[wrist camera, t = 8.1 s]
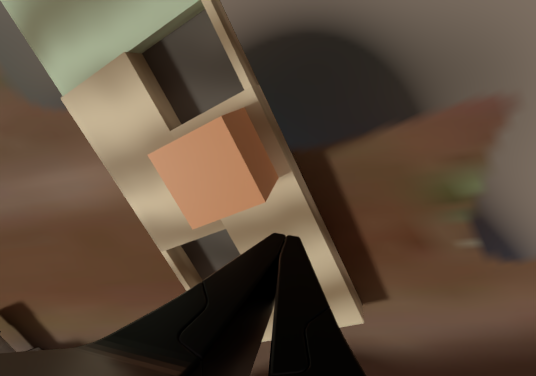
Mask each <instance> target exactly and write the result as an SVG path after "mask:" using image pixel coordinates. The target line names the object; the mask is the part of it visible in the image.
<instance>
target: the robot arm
mask: <svg viewBox="0 0 536 376" xmlns="http://www.w3.org/2000/svg"><path fill="white" fill-rule="evenodd" d="M273 307H274V316H273V327H272V339H271V350H270V362H269V373H268V376H366V374H365V372H364V371H363V369H362V367H361V366H360V364H359V362H358V361H357V359H356V357H355V356H354V354H353V352H352V350H351V349H350V347H349V345H348V343H347V342H346V340H345V338H344V336H343V334H342V332H341V330H340V328H339V326H338V324H337V322H336V319H335V317H334V315H333V312H332V310H331V309H330V306H329V304H328V301H327V299H326V297H325V294H324V292H323V290H322V287H321V285H320V283H319V280H318V278H317V276H316V274H315V271H314V269H313V267H312V264H311V262H310V260H309V257H308V255H307V253H306V250H305V248H304V246H303V243H302V241H301V239H300V237H298V236H292V235H287V236H286V235H285V234H280V233H272V234H271V235H269V236H268V237H266V238H265V239H263V240H262V241H260V242H259V243H257V244H256V245H254V246H253V247H251V248H250V249H248V250H247V251H245V252H244V253H243V254H241V255H240V256H238V257H237V258H235V259H234V260H232V261H231V262H229V263H228V264H226V265H225V266H223V267H222V268H220V269H219V270H217V271H216V272H214V273H213V274H212V275H210V276H209V277H207V278H206V279H204V280H203V281H202V282H200V283H198V284H197V285H195V286H194V287H192V288H191V289H189V290H188V291H186V292H184V293H183V294H181V295H180V296H178V297H177V298H175V299H173V300H172V301H170V302H168V303H166V304H165V305H163V306H161V307H159V308H158V309H156V310H154V311H152V312H150V313H149V314H147V315H145V316H143V317H141V318H139V319H138V320H136V321H134V322H132V323H130V324H128V325H127V326H125V327H123V328H121V329H119V330H117V331H116V332H114V333H112V334H110V335H108V336H106V337H104V338H102V339H100V340H97V341H95V342H93V343H90V344H86V345H83V346H78V347H74V348H64V349H51V350H37V351H24V352H10V353H0V376H250V373H251V370H252V367H253V364H254V361H255V359H256V356H257V353H258V350H259V347H260V345H261V342H262V339H263V336H264V333H265V330H266V328H267V325H268V322H269V319H270V316H271V313H272V310H273Z"/></svg>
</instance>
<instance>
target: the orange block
mask: <svg viewBox="0 0 536 376" xmlns="http://www.w3.org/2000/svg"><path fill="white" fill-rule="evenodd" d="M148 157H149V159H150V160H151V162H152V164H153V165H154V167H155V168H156V170H157V172H158V173H159V175H160V177H161V178H162V180H163V182H164V183H165V185H166V187H167V188H168V190H169V192H170V193H171V195H172V197H173V198H174V200H175V202H176V203H177V205H178V206H179V208H180V210H181V211H182V213H183V215H184V216H185V218H186V220H187V221H188V223H189V225H190V226H191V228H192V230H193V229H196V228H198V227H201V226H204V225H206V224H209V223H212V222H214V221H217V220H220V219H222V218H225V217H228V216H230V215H233V214H236V213H238V212H241V211H244V210H246V209H249V208H252V207H254V206H257V205H260V204H262V203H265V202H266V200H267V199H268V197H269V195H270V193H271V191H272V189H273V187H274V186H275V184H276V182H277V180H278V178H279V177H278V175H277V173H276V171H275V169H274V167H273V165H272V163H271V161H270V159H269V157H268V155H267V152H266V150H265V148H264V146H263V144H262V142H261V140H260V138H259V136H258V134H257V132H256V130H255V128H254V126H253V124H252V122H251V120H250V118H249V116H248V114H247V112H246V110H245V108H241V109H238V110H236V111H233V112H230V113H228V114H225V115H222V116H220V117H218V118H216V119H214V120H212V121H211V122H209V123H207V124H205V125H203V126H201V127H199V128H197V129H195V130H193V131H192V132H190V133H188V134H186V135H184V136H182V137H180V138H178V139H176V140H174V141H173V142H171V143H169V144H167V145H165V146H163V147H161V148H159V149H157V150H155V151H154V152H152V153H150V154H148Z"/></svg>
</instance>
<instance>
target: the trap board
mask: <svg viewBox="0 0 536 376" xmlns="http://www.w3.org/2000/svg"><path fill="white" fill-rule="evenodd" d="M1 2H2V4H3V5H4V7H5V8H6V10H7V11H8V13H9V14H10V16H11V17H12V19H13V20H14V22H15V23H16V25H17V26H18V28H19V30H20V31H21V33H22V34H23V36H24V37H25V38H26V40H27V42H28V43H29V45H30V46H31V48H32V50H33V51H34V53H35V54H36V56H37V57H38V59H39V60H40V62H41V63H42V65H43V67H44V68H45V70H46V71H47V73H48V74H49V76H50V77H51V79H52V80H53V82H54V83H55V85H56V86H57V88H58V90H59V91H60V92H61V94H62V96H63V97H62V98H61V100H62V102H63V103H64V105H65V106H66V108H67V109H68V111H69V112H70V114H71V115H72V117H73V118H74V120H75V121H76V123H77V124H78V126H79V128H80V129H81V131H82V132H83V134H84V135H85V137H86V138H87V140H88V141H89V143H90V144H91V146H92V147H93V149H94V150H95V152H96V153H97V155H98V157H99V158H100V160H101V161H102V163H103V164H104V166H105V167H106V169H107V170H108V172H109V173H110V175H111V176H112V178H113V179H114V181H115V182H116V184H117V186H118V187H119V189H120V190H121V192H122V193H123V195H124V196H125V198H126V199H127V201H128V202H129V204H130V205H131V207H132V208H133V210H134V211H135V213H136V215H137V216H138V218H139V219H140V221H141V222H142V224H143V225H144V227H145V228H146V230H147V231H148V233H149V234H150V236H151V237H152V239H153V240H154V242H155V244H156V245H157V247H158V248H159V250H160V251H161V253H162V254H163V256H164V257H165V259H166V260H167V262H168V263H169V265H170V266H171V268H172V269H173V271H174V273H175V274H176V276H177V277H178V279H179V280H180V282H181V283H182V285H183V286H184V288H185V289H186V291H188V290H189V289H191V288H192V287H194V286H195V285H197V284H198V283H200V282H202V281H203V280H204V279H206V278H207V277H209V276H210V275H212V274H213V273H214V272H216V271H217V270H219V269H220V268H222V267H223V266H225V265H226V264H228V263H229V262H231V261H232V260H234V259H235V258H237V257H238V256H240V255H241V254H243V253H244V252H245V251H247V250H248V249H250V248H251V247H253V246H254V245H256V244H257V243H259V242H260V241H262V240H263V239H265V238H266V237H268V236H269V235H271V234H272V233H280V234H285V235H286V236H287V235H292V236H298V237H300V239H301V241H302V243H303V246H304V248H305V250H306V253H307V255H308V257H309V260H310V262H311V264H312V267H313V269H314V271H315V274H316V276H317V278H318V280H319V283H320V285H321V287H322V290H323V292H324V294H325V297H326V299H327V301H328V304H329V306H330V309H331V310H332V312H333V315H334V317H335V319H336V322H337V324H338V326H339V328H340V327H345V326H351V325H356V324H362V323H364V317H363V308H362V303H361V301H360V299H359V296H358V294H357V292H356V290H355V288H354V286H353V284H352V281H351V279H350V277H349V275H348V273H347V271H346V269H345V266H344V264H343V262H342V260H341V258H340V256H339V254H338V252H337V249H336V247H335V245H334V243H333V241H332V239H331V237H330V234H329V232H328V230H327V228H326V226H325V224H324V222H323V220H322V217H321V215H320V213H319V211H318V209H317V207H316V205H315V202H314V200H313V198H312V196H311V194H310V192H309V190H308V187H307V185H306V183H305V181H304V179H303V177H302V175H301V173H300V170H299V168H298V166H297V164H296V162H295V160H294V158H293V155H292V153H291V151H290V149H289V147H288V145H287V143H286V141H285V138H284V136H283V134H282V132H281V130H280V128H279V126H278V124H277V121H276V119H275V117H274V115H273V113H272V111H271V108H270V106H269V104H268V102H267V100H266V98H265V96H264V94H263V91H262V89H261V87H260V85H259V83H258V81H257V79H256V77H255V74H254V72H253V70H252V68H251V66H250V64H249V62H248V59H247V58H246V55H245V53H244V51H243V49H242V47H241V45H240V42H239V40H238V38H237V36H236V34H235V32H234V29H233V27H232V25H231V23H230V21H229V19H228V17H227V15H226V12H225V10H224V8H223V6H222V4H221V2H220V0H1ZM241 108H245V110H246V112H247V114H248V116H249V118H250V120H251V122H252V124H253V126H254V128H255V130H256V132H257V134H258V136H259V138H260V140H261V142H262V144H263V146H264V148H265V150H266V152H267V155H268V157H269V159H270V161H271V163H272V165H273V167H274V169H275V171H276V173H277V175H278V177H279V178H278V180H277V182H276V184H275V186H274V187H273V189H272V191H271V193H270V195H269V197H268V199H267V200H266V202H265V203H262V204H260V205H257V206H254V207H252V208H249V209H246V210H244V211H241V212H238V213H236V214H233V215H230V216H228V217H225V218H222V219H220V220H217V221H214V222H212V223H209V224H206V225H204V226H201V227H198V228H196V229H193V230H192V228H191V226H190V225H189V223H188V221H187V220H186V218H185V216H184V215H183V213H182V211H181V210H180V208H179V206H178V205H177V203H176V202H175V200H174V198H173V197H172V195H171V193H170V192H169V190H168V188H167V187H166V185H165V183H164V182H163V180H162V178H161V177H160V175H159V173H158V172H157V170H156V168H155V167H154V165H153V164H152V162H151V160H150V159H149V157H148V154H150V153H152V152H154V151H155V150H157V149H159V148H161V147H163V146H165V145H167V144H169V143H171V142H173V141H174V140H176V139H178V138H180V137H182V136H184V135H186V134H188V133H190V132H192V131H193V130H195V129H197V128H199V127H201V126H203V125H205V124H207V123H209V122H211V121H212V120H214V119H216V118H218V117H220V116H222V115H225V114H228V113H230V112H233V111H236V110H238V109H241ZM273 316H274V307H273V310H272V313H271V316H270V319H269V322H268V325H267V328H266V330H265V333H264V336H263V339H262V342H265V341H270V340H271V339H272V327H273Z"/></svg>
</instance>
